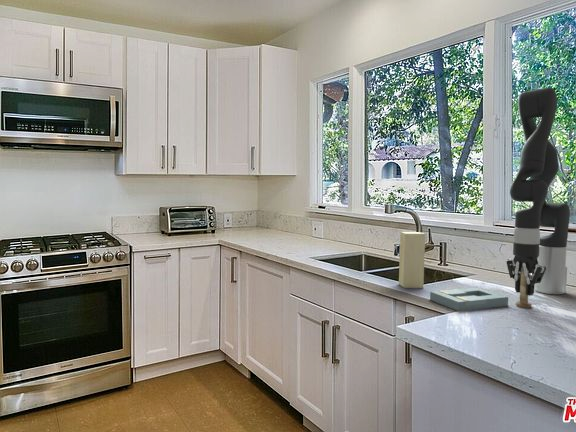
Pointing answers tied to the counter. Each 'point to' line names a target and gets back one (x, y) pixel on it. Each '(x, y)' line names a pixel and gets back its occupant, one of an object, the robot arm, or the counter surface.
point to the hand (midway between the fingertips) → (524, 293)
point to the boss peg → (523, 292)
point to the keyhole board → (468, 298)
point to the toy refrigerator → (411, 259)
